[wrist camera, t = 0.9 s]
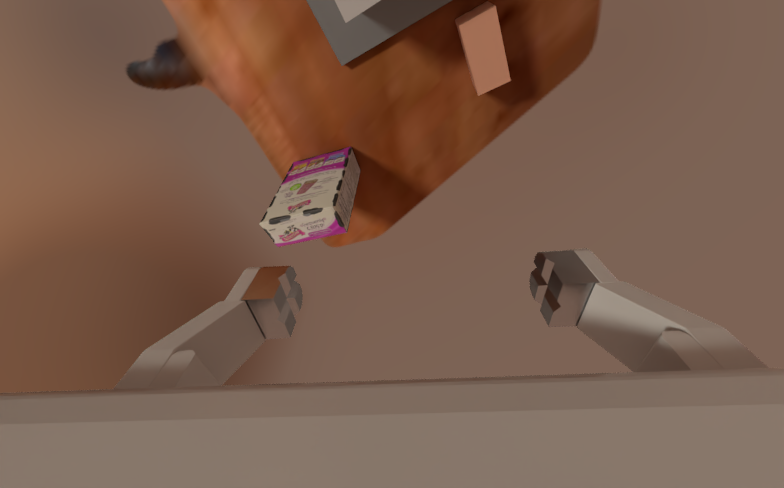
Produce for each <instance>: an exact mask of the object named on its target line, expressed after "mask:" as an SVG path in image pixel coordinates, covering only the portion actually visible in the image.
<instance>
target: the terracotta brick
mask: <svg viewBox="0 0 784 488" xmlns="http://www.w3.org/2000/svg"><path fill="white" fill-rule="evenodd" d="M455 23H456V26H457V30H458V33H459V37H460V40H461V44H462V47H463V51H464V54H465V58H466V61H467V65H468V69H469V72H470V76H471V79H472V83H473V85H474V88H475V90H476V92H477V94H478V96H479V95H481V94H483V93H486V92H488V91H490V90H492V89H494V88H496V87H499V86H501V85H503V84H505V83H507V82H509V81H511V79H510V74H509V69H508V64H507V59H506V54H505V49H504V45H503V40H502V35H501V30H500V25H499V20H498V15H497V10H496V6H495V5H494V4H492V3H490V2H489V1H486V2H485V3H483V4H481V5H479V6H477V7H476V8H474V9H472V10H470V11H469V12H467V13H465V14H463V15H462V16H460V17H458V18H456V19H455Z"/></svg>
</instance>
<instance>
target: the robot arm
mask: <svg viewBox="0 0 784 488" xmlns="http://www.w3.org/2000/svg"><path fill="white" fill-rule="evenodd" d="M534 263H535V265H536V267H537V268H535V269H534V270H533V271H532V272H531V275H530V290H531V293H532V296H533V298H534V300H535V301H537V302H538V303H540V304H541V309H540V311H541V313H542V315H543V317H544V319H545V321H546V323H547V324H548V326H549V327H560V326H577V328H578V329H579V330H581V331H582V332H583V333H584V334H586V335H587V336H588V337H589V338H591V339H592V340H593V341H595V342H596V343H597V344H598V345H600V346H601V347H602V348H604V349H605V350H606V351H607V352H609V353H610V354H611V355H613V356H614V357H615V358H617V359H618V360H619V361H620V362H622V363H623V364H624V365H625V366H627V367H628V368H629V369H631V370H632V371H633V372H629V373H628V372H627V373H598V374H597V373H596V374H565V375H537V376H536V375H535V376H505V377H479V378H477V377H475V378H447V379H446V378H444V379H413V380H381V381H350V382H321V383H290V384H259V385H227V386H221V385H222V384H223V383H224V382H225V381H226V380H227V379H228V378H229V377H230V376H231V375H232V374H233V373H234V372H235V371H236V370H237V369H238V368H239V367H240V366H241V365H242V364H243V363H244V362H245V361H246V360H247V359H248V358H249V357H250V356H251V355H252V354H253V353H254V352H255V351H256V350H257V349H258V348H259V347H260V346H261V345H262V344H263V342H264V341H265V339H276V338H289V337H291V334H292V332H293V329H294V326H295V323H296V320H295V317H294V316H295V315H296V314H297V313H298V312H299V311H300V309H301V305H302V289H301V287H300V284H298V283H297V282H296V281H294V280H295V277H296V273H295V270H294V268H293V267H291V266H277V267H276V266H273V267H253V268H252V267H251V268H247V269H245V270H244V272H243V273H242V275H241V277H240V278H239V280H238V281H237V282H236V284H235V286H234V287H233V289H232V290H231V292H230V293H229V295H228V296H227V298H226V299H225V301H224V302H218V303H217V304H215V305H214V306H212V307H211V308H209V309H208V310H206V311H205V312H203V313H201V314H200V315H198V316H197V317H195V318H194V319H192V320H191V321H189V322H188V323H186V324H184V325H183V326H181V327H180V328H178V329H177V330H175V331H174V332H172V333H171V334H169V335H167V336H166V337H164V338H163V339H161V340H160V341H158V342H157V343H155V344H154V345H152V346H151V347H149V348H147V349H146V350H144V351H143V353H142V354H141V355H140V356H139V358H138V359H137V360H136V361H135V363H134V364H133V365H132V366H131V368H130V369H129V370H128V371H127V372H126V374H125V375H124V376H123V377H122V379H121V380H120V381H119V382H118V384H117V385H116V386H115V387H114V389H106V390H76V391H50V392H49V391H46V392H16V393H0V488H784V368H768V367H767V366H766V365H765V364H764V363H763V362H762V361H761V360H760V359H758V358H757V357H756V356H755V355H754V354H753V353H752V352H751V351H749V350H748V349H747V348H746V347H745V346H744V345H743V344H742V343H741V342H740V341H738V340H737V339H736V338H735V337H734V336H733V335H732V334H731V333H729V332H728V331H727V330H726V329H725V328H723V327H721V326H719V325H717V324H715V323H713V322H711V321H708V320H706V319H704V318H702V317H700V316H698V315H695V314H693V313H691V312H689V311H687V310H685V309H683V308H681V307H678V306H676V305H674V304H672V303H670V302H668V301H665V300H663V299H661V298H659V297H657V296H654V295H652V294H650V293H648V292H646V291H644V290H642V289H639V288H637V287H635V286H633V285H631V284H629V283H627V282H619V281H618V280H617V279H616V278H615V276H613V274H612V273H611V272H610V271H609V270H608V269H607V268H606V267H605V265H604V264H603V263H602V262H601V261H600V260H599V259H598V258H597V257H596V256H595V255H594V253H593V252H592V251H591V250H589V249H587V248H586V249H573V250H566V251H550V252H538V253H537V254H536V256H535V260H534Z"/></svg>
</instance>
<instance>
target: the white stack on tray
mask: <svg viewBox="0 0 784 488" xmlns="http://www.w3.org/2000/svg"><path fill="white" fill-rule="evenodd" d="M450 1H452V0H307V2H308V4H309V6H310V8H311V10H312V11H313V13H314V15H315V17H316V19H317V21H318V23H319V24H320V26H321V28H322V30H323V32H324V34H325V36H326V37H327V39H328V41H329V43H330V45H331V47H332V49H333V50H334V52H335V54H336V56H337V58H338V60H339V62H340V63H341V65H342V66H343V65H344V64H346V63H348V62H349V61H351V60H353V59H354V58H356V57H358V56H360V55H361V54H363V53H365V52H366V51H368V50H370V49H371V48H373V47H375V46H376V45H378V44H380V43H381V42H383V41H385V40H386V39H388V38H390V37H391V36H393V35H395V34H396V33H398V32H400V31H402V30H403V29H405V28H407V27H408V26H410V25H412V24H413V23H415V22H417V21H418V20H420V19H422V18H423V17H425V16H427V15H428V14H430V13H432V12H433V11H435V10H437V9H438V8H440V7H442V6H443V5H445V4H447V3H449V2H450Z"/></svg>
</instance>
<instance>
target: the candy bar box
mask: <svg viewBox="0 0 784 488" xmlns="http://www.w3.org/2000/svg"><path fill="white" fill-rule="evenodd" d="M360 171H361V170H360V167H359V165H358V163H357V161H356V158H355V155H354V153H353V150H352V148H351V147H348V148H344V149H341V150H337V151H334V152H330V153H326V154H323V155H319V156H316V157H312V158H308V159H305V160H301V161H297V162H294V163H293V164H292V166H291V168H290V169H289V171H288V173H287V175H286V177H285V179H284V180H283V182H282V184H281V186H280V188H279V190H278V192H277V193H276V195H275V197H274V198H273V200H272V202H271V204H270V206H269V208H268V209H267V211H266V213H265V215H264V217H263V219H262V220H261V222H260V225H261V227H262V228H263V229H264V230H265V231H266V233H267V234H268V235H269V236H270V238H271V239H273V242H274V243H275V244H276V245H277V246H278V247H281V246H286V245H291V244H295V243H300V242H304V241H310V240H314V239H319V238H324V237H329V236H334V235H339V234H344V233H347V230H348V226H349V222H350V217H351V212H352V208H353V203H354V199H355V195H356V189H357V185H358V181H359V176H360Z"/></svg>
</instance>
